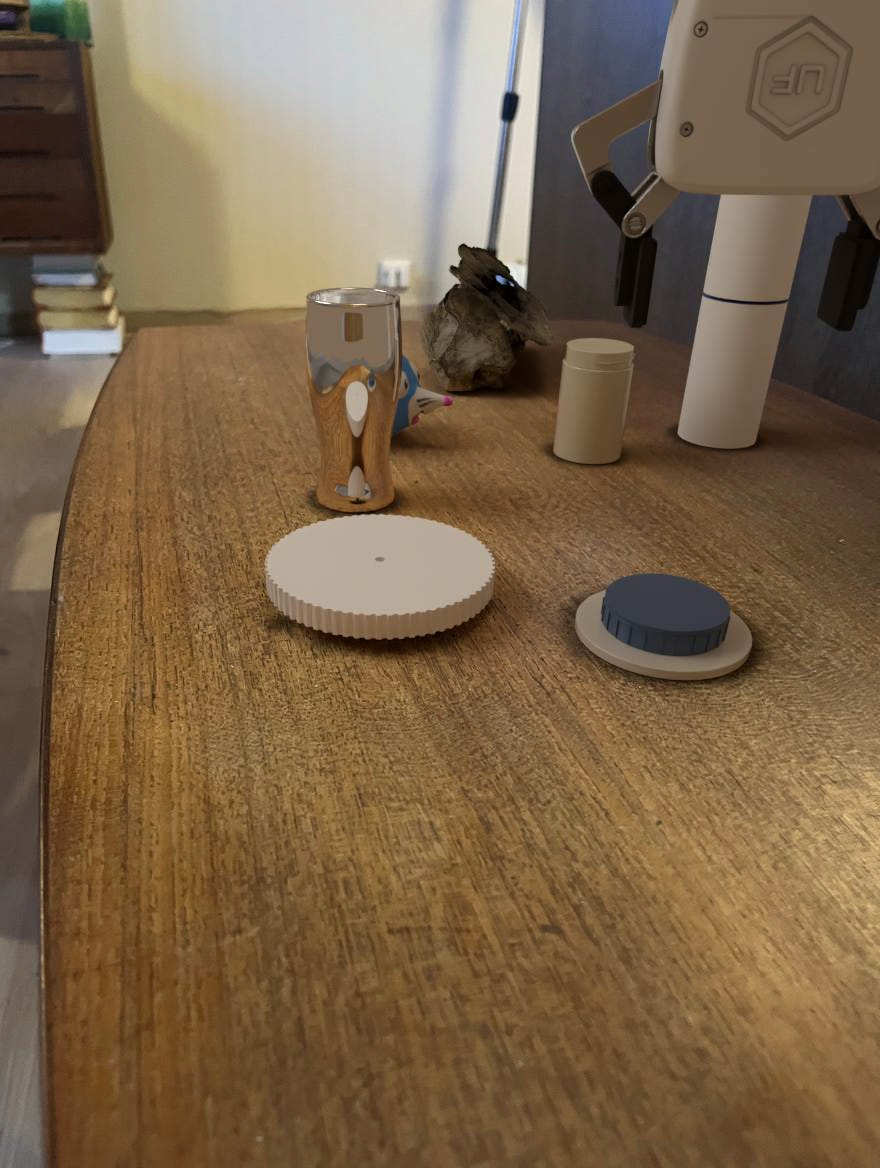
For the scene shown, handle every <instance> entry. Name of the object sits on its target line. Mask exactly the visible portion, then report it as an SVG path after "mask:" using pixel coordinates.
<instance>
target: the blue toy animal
mask: <svg viewBox="0 0 880 1168" xmlns="http://www.w3.org/2000/svg"><path fill="white" fill-rule="evenodd" d="M420 373H421V372H420V371H419V369H418V367H417V365H415V364H414V363H412V362H411V361H409V360H408V358H407V357H406V356H405V355H404V354H402V376H401V384H400V391H399V398H398V403H397V409H396V414H395V419H394V425H393V430H392V436H391V438H393V437H395V436H397V435H398V434H400V433H401V432H402V431H403V430H405V429H406V428H409V427H410V426H411V425H413V426H414V425H417V423H418V422H420V417H419V415H420V414H423V415H428V414H430V413H432V412H434V411H435V410H438V409H439V408H441V407H450V406H453V404H454V399H453V397H452V396H451V395H447V394H446V395H443V394H440V393H439V392H434V391H432V390H429V389H426V388H423V387H422V386H421V384H420V383H419V382H420V379H421V374H420Z"/></svg>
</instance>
